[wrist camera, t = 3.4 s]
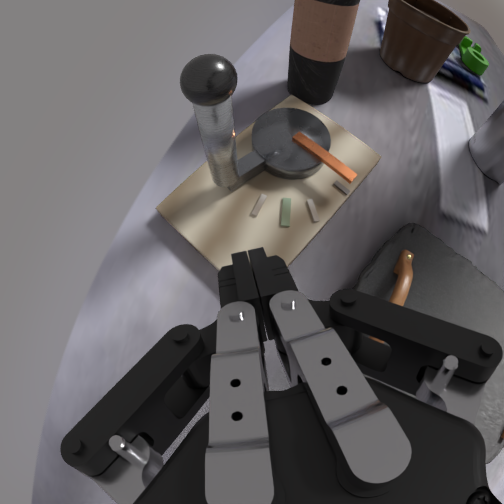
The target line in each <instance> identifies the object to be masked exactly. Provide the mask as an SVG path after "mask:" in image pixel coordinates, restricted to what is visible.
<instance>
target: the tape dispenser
mask: <svg viewBox="0 0 504 504" xmlns="http://www.w3.org/2000/svg"><path fill="white" fill-rule="evenodd" d="M471 44H472V40H471V39H469V38H468V37H466V36H465V37H464V38H463V39H462V41H461V42H460V44H459V47H460V51H461V55H462V61H463V62H464V64H465V65H466V66H467V67H468V68H469V69H471V70H472V71H473V72H475V73H476V74H478V75H482V74H483V73H484V71H485V70H486V68H487V67H488V65H489V63H488V61H487V60H486V59H485V58H484V57H483V56H482V55H481V54H480V52H481V47H480V46H479V45H478V44H477V43H475V45H474V46H473V47H471Z"/></svg>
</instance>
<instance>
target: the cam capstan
mask: <svg viewBox="0 0 504 504" xmlns="http://www.w3.org/2000/svg"><path fill="white" fill-rule="evenodd" d="M180 86H181V90H182V92H183V94H184V95H185V97H186V98H187V99H188V100H189V101H191V102H192V103H193V107H194V111H195V115H196V119H197V123H198V127H199V131H200V135H201V139H202V142H203V146H204V150H205V154H206V158H207V162H208V165H209V169H210V173H211V177H212V180H213V182H214V183H215V184H216V185H217V186H220V187H227V188H228V189H229V190H230V191H231V192H232V191H234V190H235V189H237V188H238V187H240V186H241V185H243V184H244V183H246V182H247V181H249V180H250V179H252V178H253V177H255V176H256V175H258V174H260V173H261V172H263V171H264V170H265V171H266V172H268V173H269V174H271V175H273V176H276V177H279V178H283V179H289V180H296V179H303V178H307V177H309V176H312V175H313V174H315V173H316V172H318V171H319V170H320V169H321V168H322V166H323V165H324V164H325V165H326V166H328V167H329V168H330V169H332V170H333V171H334V172H336V173H337V174H338V175H339V176H341V177H342V178H343V179H344V180H346V181H347V182H348V183H349V184H351V183H352V181H353V180H354V179H355V178H356V177H357V174H356V173H355V172H354V171H352V170H351V169H350V168H349V167H347V166H346V165H345V164H344V163H342V162H341V161H340V160H338V159H337V158H336V157H334V156H333V155H332V154H330V153H329V149H330V146H331V137H330V133H329V131H328V129H327V127H326V126H325V124H324V123H323V122H322V121H321V120H320V119H319V118H317V117H316V116H315V115H313V114H311V113H309V112H307V111H304V110H301V109H297V108H277V109H273V110H270V111H268V112H266V113H264V114H263V115H261V116H260V117H259V118H258V119H257V120H256V122H255V124H254V126H253V128H252V152H250V153H249V154H247V155H245V156H244V157H242V158H241V159H239V160H238V159H237V149H236V138H235V128H234V118H233V107H232V97H231V95H232V94H233V92H234V91H235V89H236V86H237V73H236V70H235V68H234V66H233V65H232V64H231V62H230V61H228V60H227V59H226V58H224V57H222V56H219V55H215V54H205V55H200V56H198V57H196V58H194V59H192V60H191V61H190V62H189V63H188V64H187V65H186V66H185V67H184V69H183V71H182V73H181V77H180Z"/></svg>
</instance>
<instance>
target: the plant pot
mask: <svg viewBox="0 0 504 504" xmlns="http://www.w3.org/2000/svg"><path fill="white" fill-rule="evenodd" d="M388 7H389V11H388V17H387V22H386V26H385V31H384V36H383V40H382V45H381V49H380V55H381V58H382V59H383V60H384V62H385V63H386V64H387V65H388V66H389V67H391V68H392V69H393V70H395V71H399V72H401V73H402V74H403V76H404V77H406V78H409V79H411V80H414V81H417V82H423V83H427V82H430V81H431V80H432V79H433V78H434V76H435V75H436V74H437V72H438V71H439V69H440V68H441V67H442V65H443V64H444V62H445V61H446V59H447V58H448V56H449V55H450V54H451V52H452V51H453V49H454V48H455V47H456V45H458V44H460V42H461V41H462V39H463V38H464V37H465V35H467V34H469V33H470V32H471V31H470V28H469V27H468V25H467V24H466V23H465V22H464V21H463V20H462V19H461V18H460V17H458V16H457V15H456V14H455V13H453V12H452V11H451V10H449V9H448V8H446V7H445V6H443V5H441V4H440V3H438V2H436V1H434V0H389V2H388Z"/></svg>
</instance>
